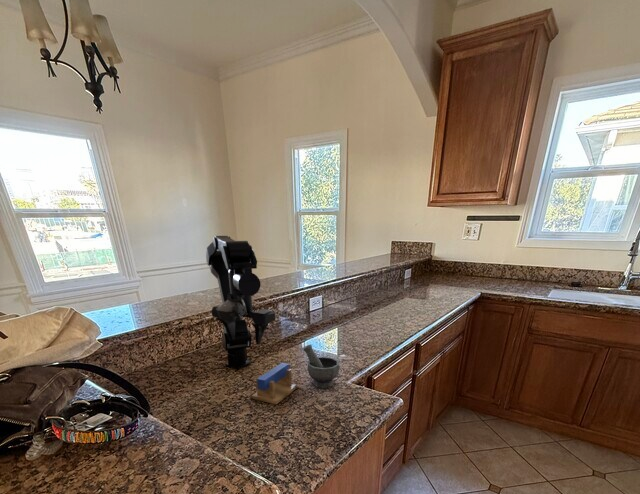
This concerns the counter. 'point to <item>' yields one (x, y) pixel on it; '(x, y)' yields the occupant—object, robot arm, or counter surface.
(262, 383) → the blue rectangular block
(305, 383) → the counter surface
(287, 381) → the holder
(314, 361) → the mortar and pestle
